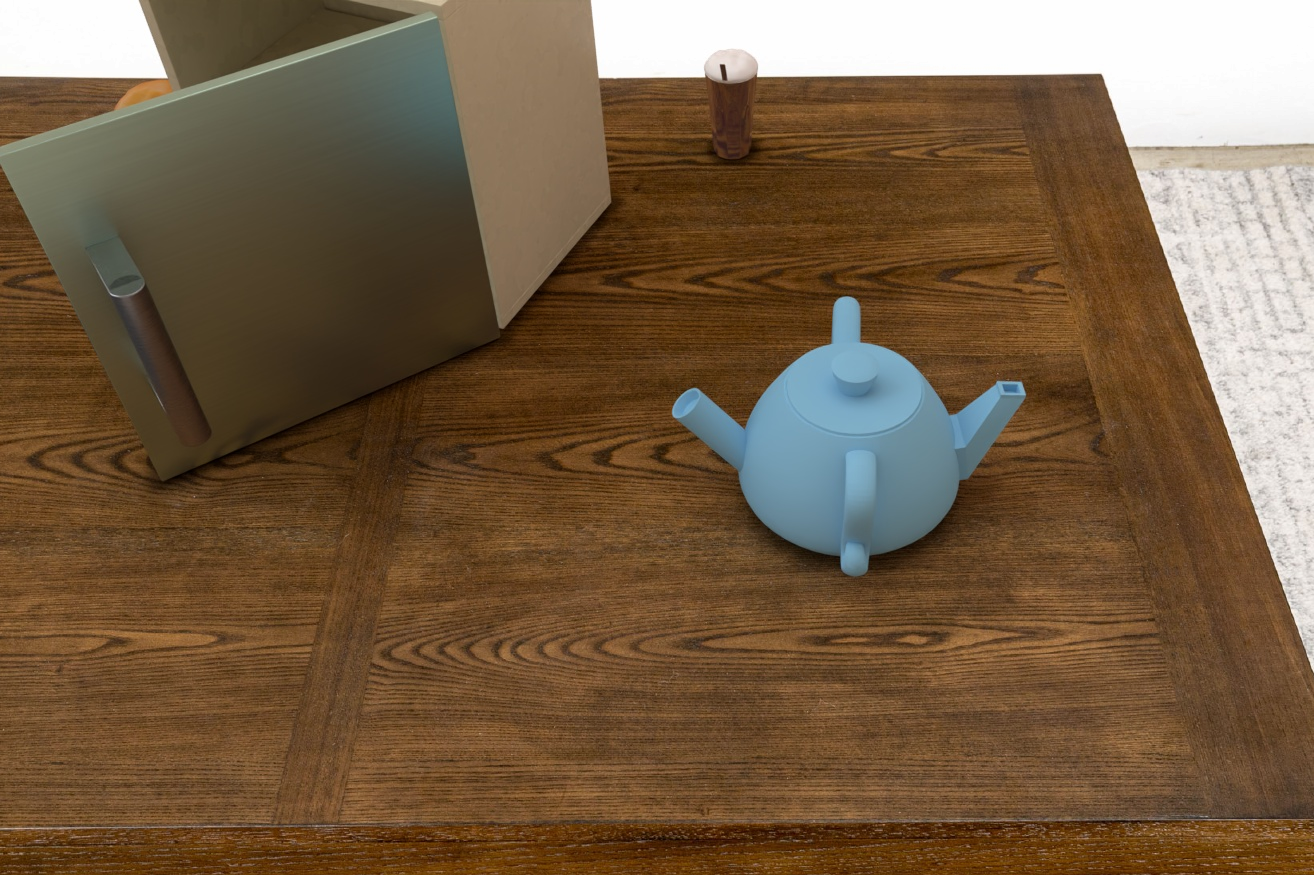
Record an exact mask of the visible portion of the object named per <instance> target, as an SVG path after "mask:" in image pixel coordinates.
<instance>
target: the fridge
mask: <svg viewBox="0 0 1314 875" xmlns="http://www.w3.org/2000/svg"><path fill="white" fill-rule="evenodd" d="M138 2H139V5H140V8H141V11H142V14H143V16H144V19H145V21H146V25H147V27H148V29H149V32H150V35H151V38H152V40H153V42H154V45H155V48H156V51H157V53H158V57H159V58H160V61H161V64H162V66H163V69H164V72H165V74H166V77H167V80H169V83H170V85H171V88H172V91H173V92H175V91H178V90H181V89H185V88H188V87H191V86H194V85H197V84H200V83H204V82H207V81H210V80H213V79H216V78H219V77H223V76H226V75H229V74H232V73H235V72H239V71H242V70H245V69H248V68H251V67H254V66H258V65H261V64H264V63H267V62H270V61H274V60H277V59H280V58H283V57H286V56H289V55H293V54H296V53H299V52H302V51H305V50H309V49H312V48H315V47H318V46H321V45H324V44H328V43H331V42H334V41H337V40H340V39H344V38H347V37H350V36H353V35H356V34H359V33H363V32H366V31H369V30H372V29H375V28H379V27H382V26H385V25H388V24H391V23H394V22H398V21H401V20H404V19H407V18H410V17H413V16H417V15H420V14H423V13H426V12H429V11H432V12H433V13H434V14H435V15H436V16H437V17H438V20H439V25H440V30H441V35H442V40H443V45H444V50H445V55H446V60H447V66H448V71H449V76H450V81H451V86H452V91H453V96H454V101H455V106H456V112H457V117H458V122H459V127H460V132H461V137H462V142H463V147H464V152H465V157H466V163H467V168H468V173H469V178H470V183H471V188H472V193H473V198H474V203H475V208H476V214H477V219H478V224H479V229H480V234H481V239H482V244H483V249H484V254H485V259H486V265H487V270H488V275H489V280H490V285H491V290H492V295H493V300H494V305H495V310H496V316H497V321H498V326H499V329H501V330H503V329H505V328H506V327H507V326H508V324H509V323H510V322H511V321H512V319H514V317H515V316H516V315H517V314H518V313H519V311H520V310H521V309H522V308H523V307H524V306H525V304H526V303H527V302H528V301H529V299H530V298H531V297H532V296H533V295H534V294H535V293H536V291H537V290H538V289H539V288H541V286H542V285H543V283H544V282H545V281H546V280H547V279H548V278H549V276H550V275H551V274H552V273H553V272H554V270H555V269H556V268H557V267H558V265H559V264H560V263H561V262H562V261H563V260H564V259H565V258H566V256H567V255H568V254H569V253H570V252H571V250H572V249H573V248H574V247H575V246H576V244H578V242H579V241H580V240H581V239H582V238H583V236H584V235H585V234H586V233H587V232H588V231H589V229H590V228H591V227H592V226H593V225H594V223H595V222H596V221H597V220H598V218H600V216H601V215H602V214H603V213H604V212H605V211H606V209H607V208H608V207H609V206H610V205H611V203H612V196H611V195H612V194H611V186H610V184H611V183H610V174H609V164H608V156H607V145H606V136H605V124H604V115H603V106H602V95H601V87H600V76H599V66H598V55H597V47H596V36H595V28H594V27H595V26H594V19H593V18H594V17H593V7H592V0H138Z"/></svg>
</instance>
